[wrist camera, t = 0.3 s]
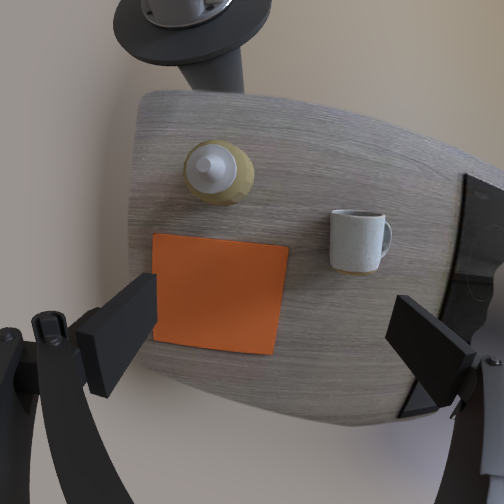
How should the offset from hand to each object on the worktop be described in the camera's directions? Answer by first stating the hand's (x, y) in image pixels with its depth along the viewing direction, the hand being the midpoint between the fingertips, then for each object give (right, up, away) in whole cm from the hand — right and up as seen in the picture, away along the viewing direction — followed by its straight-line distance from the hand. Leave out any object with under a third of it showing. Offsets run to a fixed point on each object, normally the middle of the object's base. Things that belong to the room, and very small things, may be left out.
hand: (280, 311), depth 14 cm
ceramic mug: (+14, +6, +26) cm, 30 cm away
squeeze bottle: (-5, +14, +25) cm, 29 cm away
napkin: (-7, -4, +28) cm, 29 cm away
